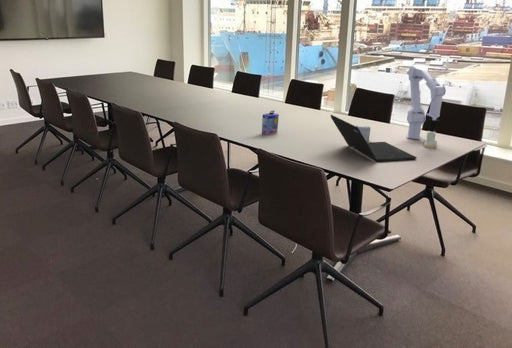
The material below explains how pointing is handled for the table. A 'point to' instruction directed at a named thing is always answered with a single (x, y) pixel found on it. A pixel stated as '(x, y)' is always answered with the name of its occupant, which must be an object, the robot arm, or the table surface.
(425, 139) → the top slab
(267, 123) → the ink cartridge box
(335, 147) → the table surface
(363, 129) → the medicine box
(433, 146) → the bottom slab
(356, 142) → the laptop
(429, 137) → the cube
